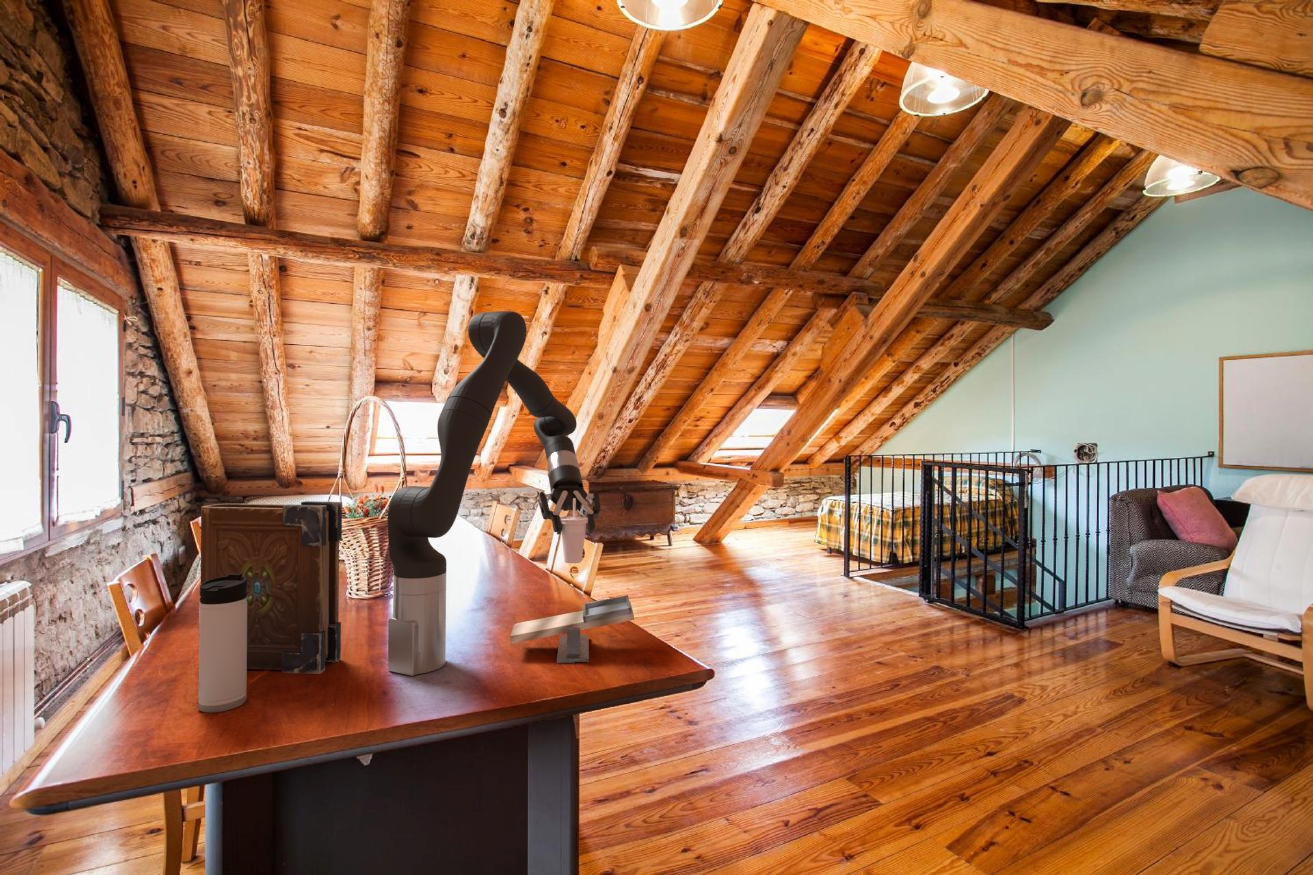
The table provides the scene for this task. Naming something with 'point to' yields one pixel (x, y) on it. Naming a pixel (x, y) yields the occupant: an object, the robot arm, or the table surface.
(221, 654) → the travel mug
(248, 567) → the decorative book
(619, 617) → the balance beam
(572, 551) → the smoothie
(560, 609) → the table surface
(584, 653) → the pivot stand
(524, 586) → the table surface
